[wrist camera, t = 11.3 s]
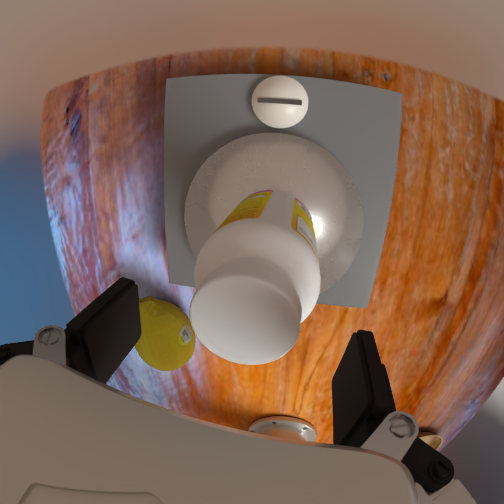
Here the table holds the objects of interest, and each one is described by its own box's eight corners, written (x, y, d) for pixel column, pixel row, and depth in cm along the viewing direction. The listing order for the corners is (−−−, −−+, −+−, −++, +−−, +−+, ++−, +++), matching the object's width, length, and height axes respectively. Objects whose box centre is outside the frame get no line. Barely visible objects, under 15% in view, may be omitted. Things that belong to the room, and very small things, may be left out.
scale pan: (343, 307, 26) (344, 313, 25) (191, 287, 28) (187, 292, 27) (371, 144, 20) (374, 145, 19) (189, 130, 22) (184, 130, 21)
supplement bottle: (222, 247, 24) (155, 345, 13) (248, 175, 22) (183, 221, 10) (295, 276, 24) (283, 395, 13) (327, 207, 21) (355, 290, 10)
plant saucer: (452, 426, 39) (455, 435, 37) (411, 458, 45) (412, 467, 43) (406, 423, 39) (408, 434, 37) (364, 456, 46) (365, 466, 43)
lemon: (208, 349, 38) (189, 390, 31) (159, 343, 39) (136, 379, 32) (194, 282, 34) (167, 320, 26) (140, 279, 35) (108, 312, 28)
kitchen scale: (358, 283, 30) (368, 312, 25) (186, 262, 33) (166, 286, 28) (385, 100, 22) (405, 92, 17) (187, 86, 25) (162, 77, 20)
